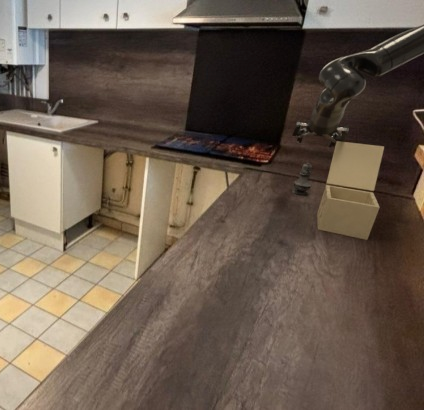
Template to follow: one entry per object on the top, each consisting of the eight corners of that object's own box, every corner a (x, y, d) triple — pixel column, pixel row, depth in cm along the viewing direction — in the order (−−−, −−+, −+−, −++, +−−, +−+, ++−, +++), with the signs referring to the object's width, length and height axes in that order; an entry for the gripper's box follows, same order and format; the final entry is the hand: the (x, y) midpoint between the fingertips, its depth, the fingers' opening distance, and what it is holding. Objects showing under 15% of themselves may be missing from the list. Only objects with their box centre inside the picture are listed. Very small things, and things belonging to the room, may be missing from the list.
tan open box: (367, 240, 99) (379, 207, 95) (317, 229, 104) (327, 198, 100) (362, 222, 109) (373, 192, 105) (317, 213, 114) (326, 184, 110)
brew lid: (384, 146, 105) (379, 151, 109) (336, 141, 110) (334, 145, 114) (374, 190, 104) (369, 193, 108) (326, 183, 110) (324, 186, 114)
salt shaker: (292, 194, 130) (300, 162, 125) (289, 188, 135) (298, 158, 130) (310, 196, 128) (320, 164, 123) (307, 191, 133) (316, 159, 128)
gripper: (358, 107, 101) (343, 135, 115) (301, 102, 107) (293, 129, 122) (353, 130, 100) (338, 156, 114) (295, 123, 106) (288, 148, 120)
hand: (315, 142), depth 118 cm, fingers open, 8 cm apart
